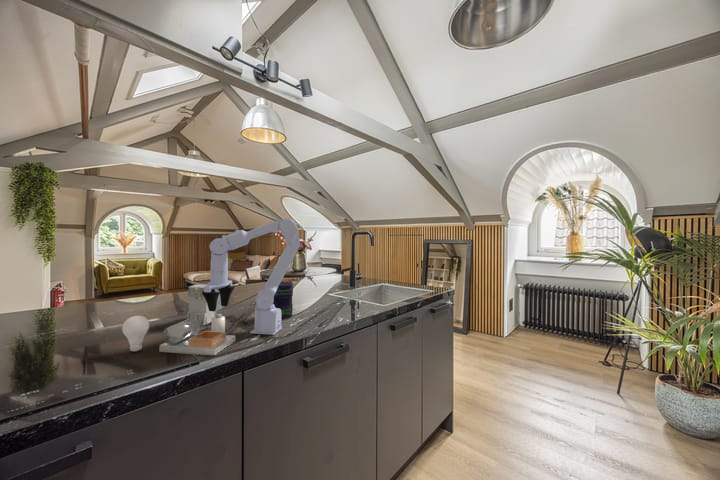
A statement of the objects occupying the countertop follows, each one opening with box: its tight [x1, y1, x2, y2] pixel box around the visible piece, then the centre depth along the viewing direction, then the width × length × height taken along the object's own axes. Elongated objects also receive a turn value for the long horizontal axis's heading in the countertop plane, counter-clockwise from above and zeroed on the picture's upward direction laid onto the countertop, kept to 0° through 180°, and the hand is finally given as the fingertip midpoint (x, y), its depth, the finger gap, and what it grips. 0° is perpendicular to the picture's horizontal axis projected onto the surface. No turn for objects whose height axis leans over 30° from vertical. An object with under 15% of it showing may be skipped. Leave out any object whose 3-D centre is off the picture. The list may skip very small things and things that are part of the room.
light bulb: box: [121, 315, 150, 353], centre depth 90 cm, size 7×7×11 cm
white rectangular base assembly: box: [158, 317, 237, 356], centre depth 95 cm, size 18×12×8 cm, turn 84°
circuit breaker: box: [186, 283, 224, 326], centre depth 124 cm, size 8×14×15 cm, turn 174°
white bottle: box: [211, 313, 226, 332], centre depth 107 cm, size 4×4×7 cm
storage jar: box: [273, 281, 294, 321], centre depth 131 cm, size 10×10×15 cm
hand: (218, 308), depth 107 cm, fingers open, 7 cm apart
